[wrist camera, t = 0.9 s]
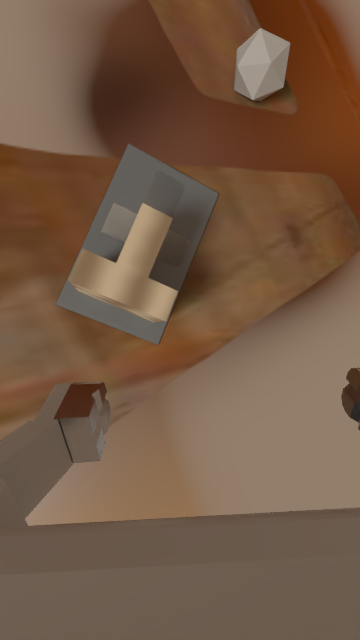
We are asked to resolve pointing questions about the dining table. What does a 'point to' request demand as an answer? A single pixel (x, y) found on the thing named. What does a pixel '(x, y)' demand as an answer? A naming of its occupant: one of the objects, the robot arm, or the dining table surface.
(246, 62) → the die
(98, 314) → the t mat
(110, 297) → the t block
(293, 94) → the dining table surface
